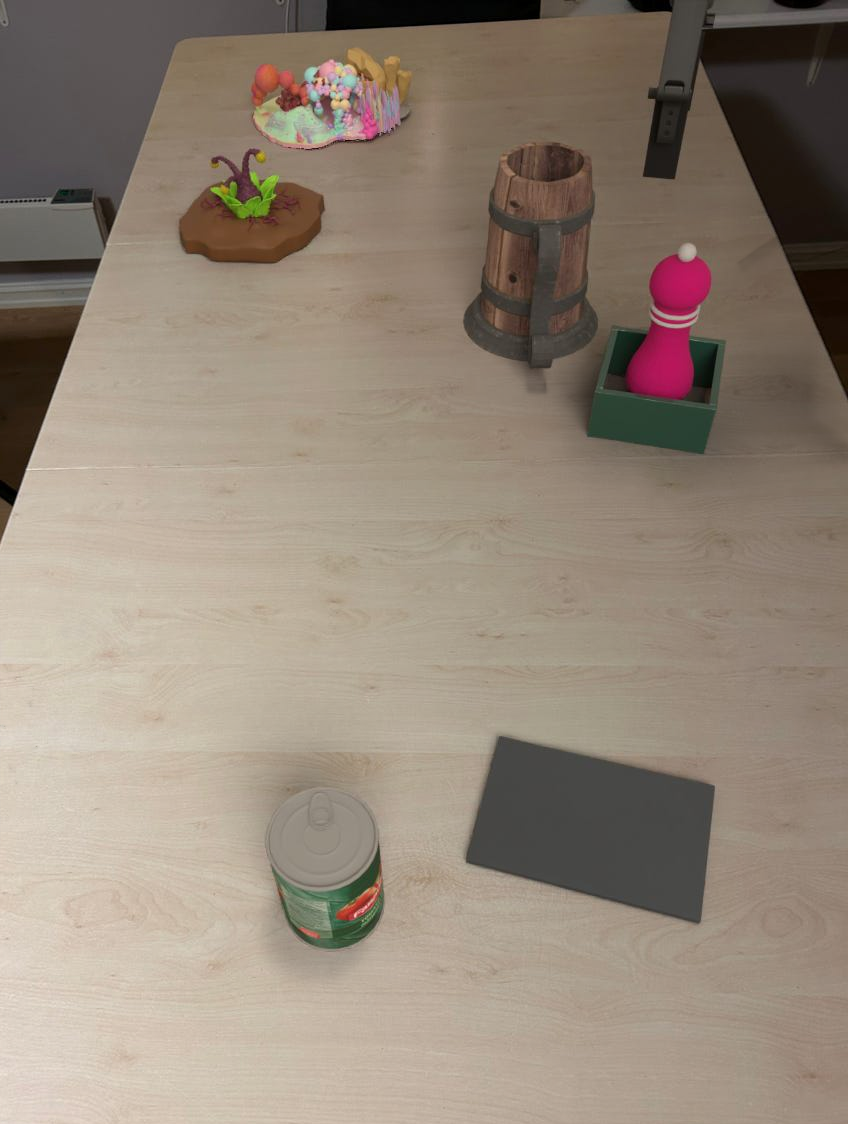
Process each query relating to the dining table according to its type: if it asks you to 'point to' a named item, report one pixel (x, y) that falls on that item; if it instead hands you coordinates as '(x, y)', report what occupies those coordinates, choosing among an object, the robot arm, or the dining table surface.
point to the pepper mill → (670, 326)
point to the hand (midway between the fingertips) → (667, 141)
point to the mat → (595, 828)
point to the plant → (251, 216)
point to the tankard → (537, 257)
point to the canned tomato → (327, 867)
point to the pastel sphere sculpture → (331, 101)
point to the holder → (656, 398)
